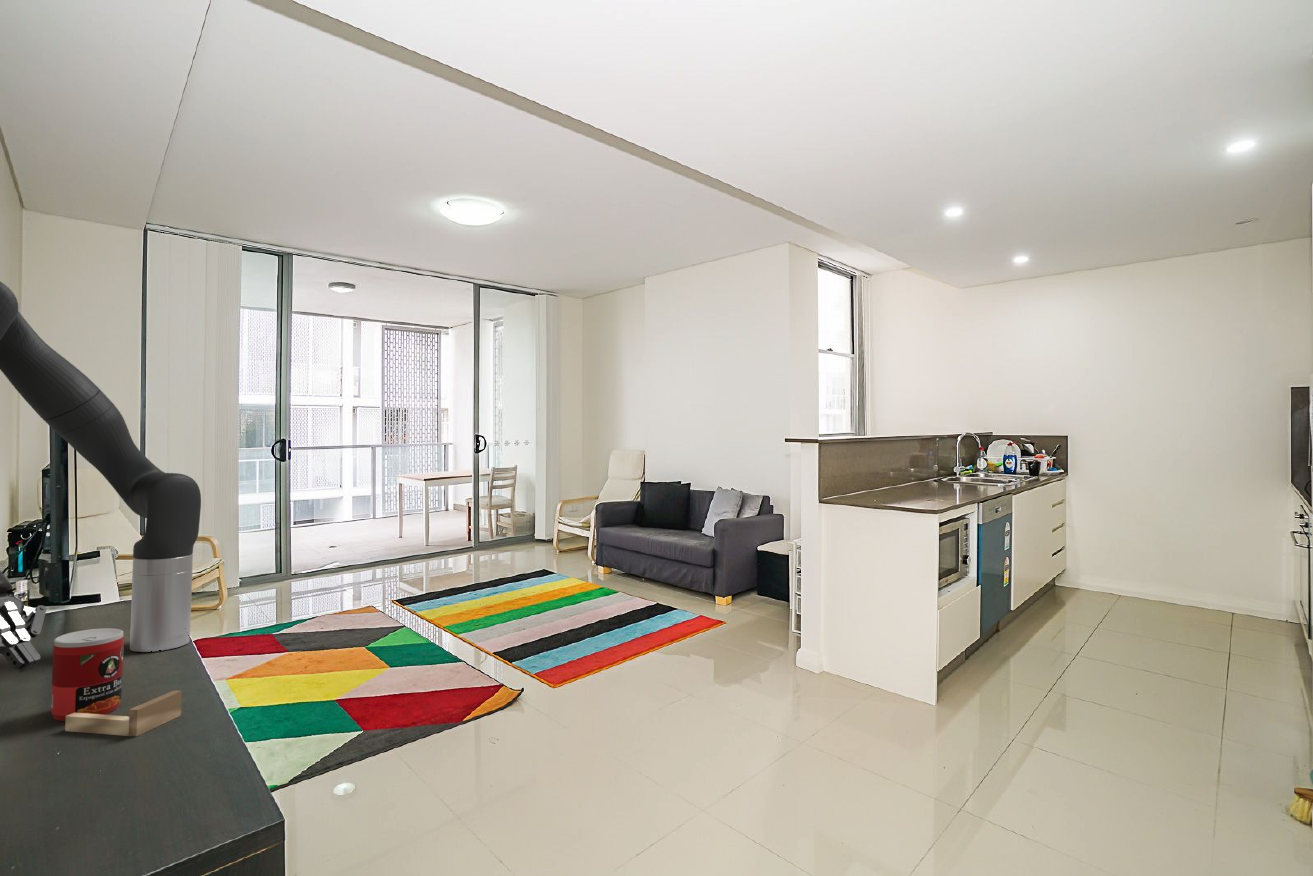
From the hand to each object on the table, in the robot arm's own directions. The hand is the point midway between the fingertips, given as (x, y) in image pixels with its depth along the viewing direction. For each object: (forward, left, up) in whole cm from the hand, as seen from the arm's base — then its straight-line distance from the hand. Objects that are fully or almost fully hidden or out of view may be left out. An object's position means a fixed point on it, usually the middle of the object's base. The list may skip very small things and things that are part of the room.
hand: (31, 667), depth 95 cm
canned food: (+8, +4, -6) cm, 11 cm away
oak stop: (+17, +5, -6) cm, 19 cm away
